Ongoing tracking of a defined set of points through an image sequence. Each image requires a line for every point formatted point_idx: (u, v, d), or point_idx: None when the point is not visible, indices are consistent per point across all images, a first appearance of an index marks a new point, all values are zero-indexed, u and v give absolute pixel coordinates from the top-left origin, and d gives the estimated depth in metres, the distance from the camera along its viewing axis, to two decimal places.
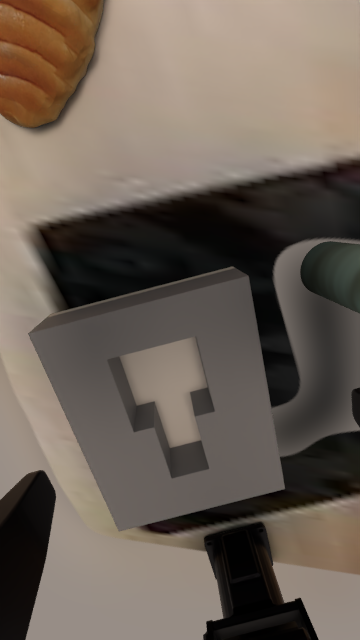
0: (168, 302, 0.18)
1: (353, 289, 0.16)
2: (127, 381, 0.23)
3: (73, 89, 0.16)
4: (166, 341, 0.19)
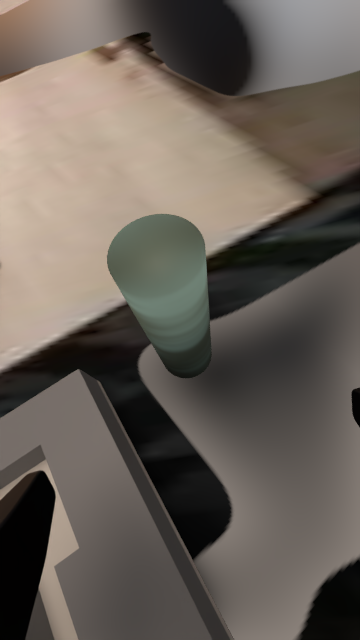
0: (9, 418, 0.19)
1: None
2: None
3: None
4: (10, 461, 0.18)
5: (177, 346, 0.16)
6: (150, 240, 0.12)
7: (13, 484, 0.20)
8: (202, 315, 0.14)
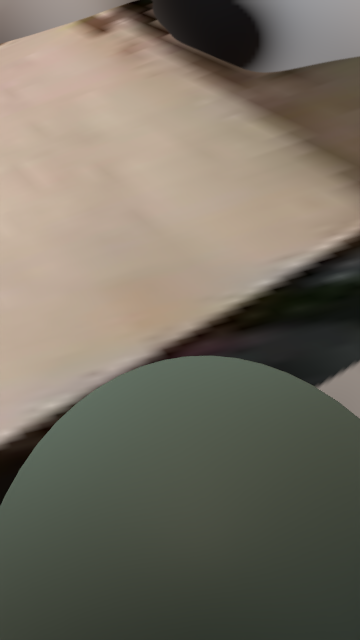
0: None
1: None
2: None
3: None
4: None
5: None
6: (176, 511, 0.03)
7: None
8: None
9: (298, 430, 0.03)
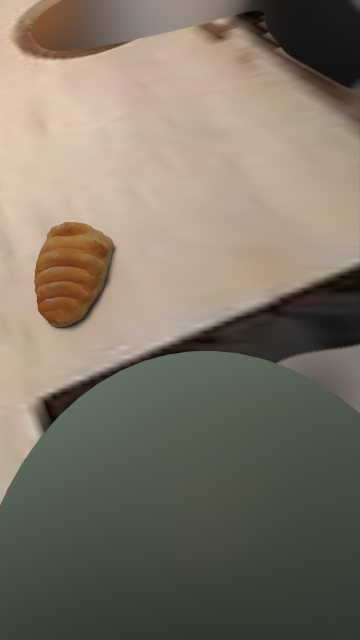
0: None
1: None
2: None
3: (94, 295, 0.25)
4: None
5: None
6: (176, 504, 0.03)
7: None
8: None
9: (298, 424, 0.03)
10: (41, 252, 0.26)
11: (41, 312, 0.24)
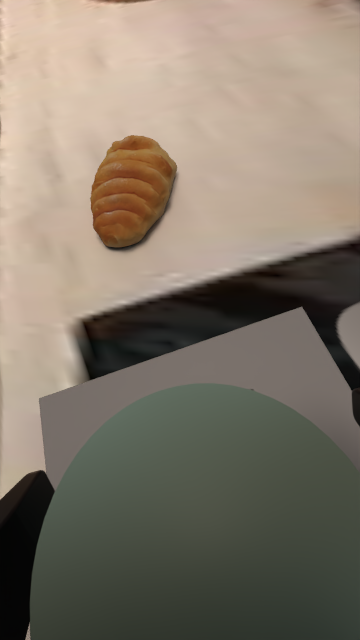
0: (208, 346, 0.14)
1: None
2: None
3: (156, 215, 0.22)
4: None
5: None
6: (185, 505, 0.03)
7: None
8: None
9: (279, 443, 0.04)
10: (101, 166, 0.23)
11: (97, 227, 0.22)
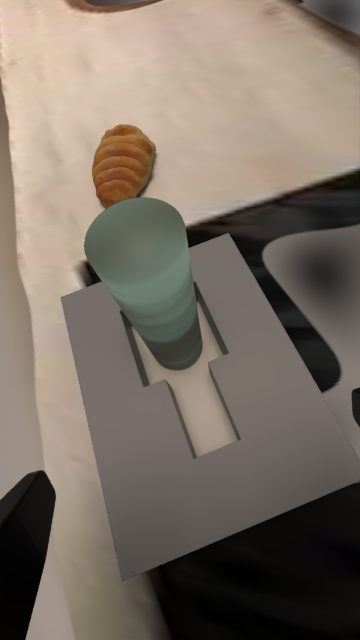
0: None
1: None
2: (143, 364, 0.23)
3: (142, 183, 0.30)
4: None
5: (164, 336, 0.16)
6: (128, 225, 0.12)
7: None
8: (188, 302, 0.14)
9: (157, 208, 0.12)
10: (98, 149, 0.31)
11: (100, 194, 0.30)
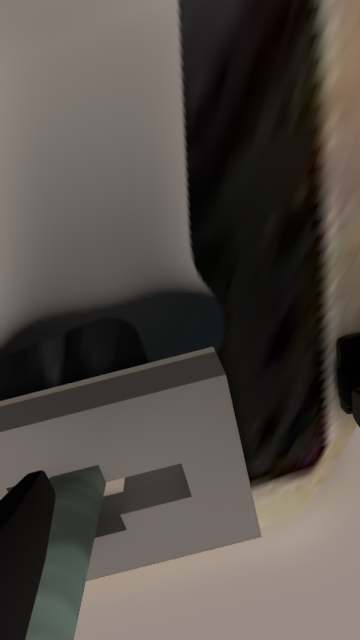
0: None
1: None
2: None
3: None
4: None
5: (85, 577, 0.15)
6: None
7: None
8: (53, 606, 0.13)
9: None
10: None
11: None
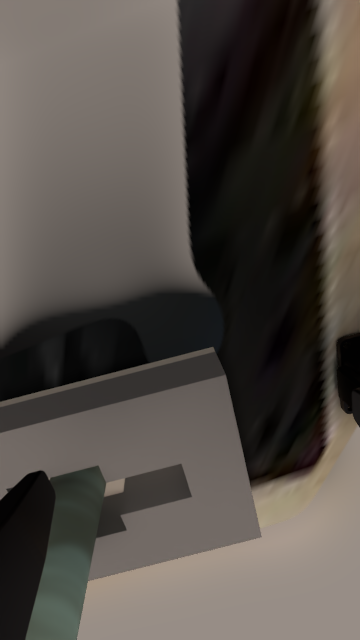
0: None
1: None
2: None
3: None
4: None
5: (87, 578, 0.16)
6: None
7: None
8: (55, 609, 0.13)
9: None
10: None
11: None
